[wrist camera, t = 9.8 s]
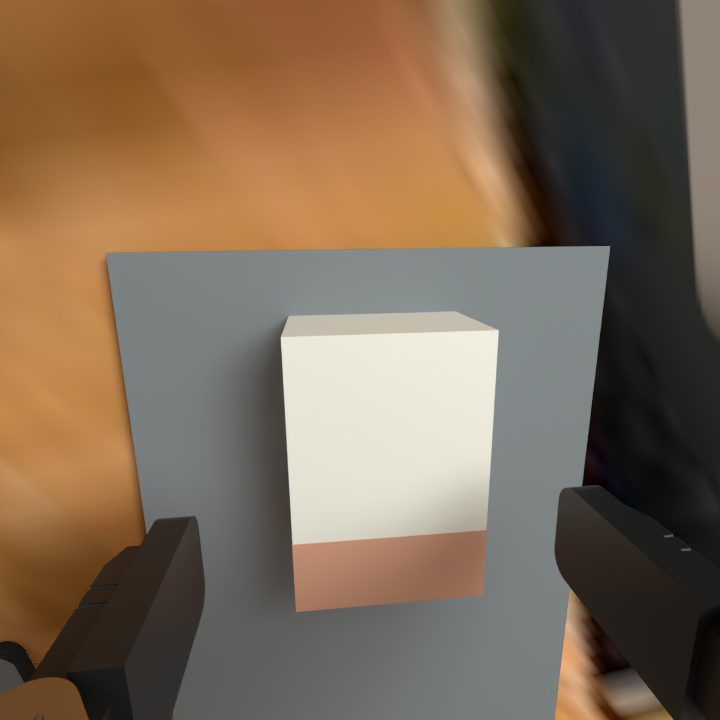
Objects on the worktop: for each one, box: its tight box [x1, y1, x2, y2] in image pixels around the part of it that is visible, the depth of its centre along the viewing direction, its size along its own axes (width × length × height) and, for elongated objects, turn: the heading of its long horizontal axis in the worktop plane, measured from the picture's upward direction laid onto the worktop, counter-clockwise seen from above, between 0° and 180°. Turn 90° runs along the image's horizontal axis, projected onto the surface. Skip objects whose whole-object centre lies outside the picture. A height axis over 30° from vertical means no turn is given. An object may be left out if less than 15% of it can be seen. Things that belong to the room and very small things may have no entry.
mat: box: [106, 246, 610, 720], centre depth 17 cm, size 24×16×1 cm, turn 1°
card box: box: [281, 311, 499, 612], centre depth 14 cm, size 8×6×4 cm
